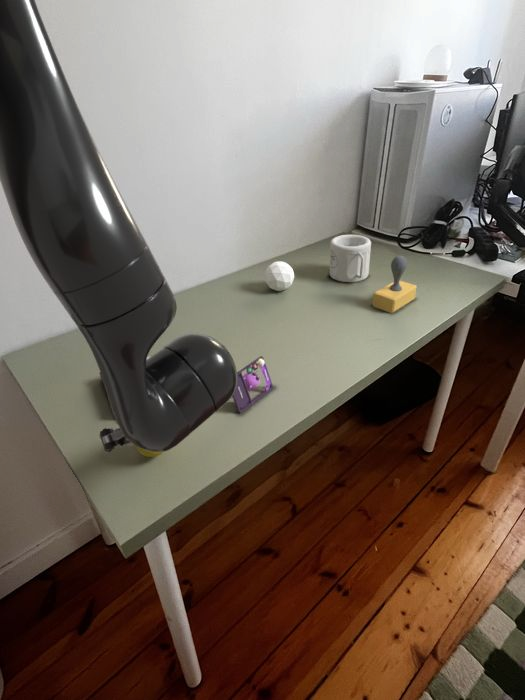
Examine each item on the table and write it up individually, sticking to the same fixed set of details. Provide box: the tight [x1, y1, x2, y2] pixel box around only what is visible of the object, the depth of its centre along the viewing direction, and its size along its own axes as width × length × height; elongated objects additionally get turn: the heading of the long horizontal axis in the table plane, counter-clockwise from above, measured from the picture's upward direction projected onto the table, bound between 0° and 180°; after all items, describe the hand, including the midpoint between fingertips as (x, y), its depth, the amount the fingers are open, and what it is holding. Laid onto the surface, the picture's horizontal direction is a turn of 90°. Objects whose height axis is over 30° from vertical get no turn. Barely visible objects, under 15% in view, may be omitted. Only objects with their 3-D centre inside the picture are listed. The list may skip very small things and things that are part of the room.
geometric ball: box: [264, 260, 295, 292], centre depth 114 cm, size 8×8×8 cm
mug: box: [329, 234, 372, 283], centre depth 118 cm, size 14×11×10 cm
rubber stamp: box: [372, 255, 418, 314], centre depth 103 cm, size 10×6×12 cm, turn 133°
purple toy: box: [232, 355, 274, 414], centre depth 79 cm, size 7×5×9 cm
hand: (150, 427), depth 66 cm, fingers open, 8 cm apart
